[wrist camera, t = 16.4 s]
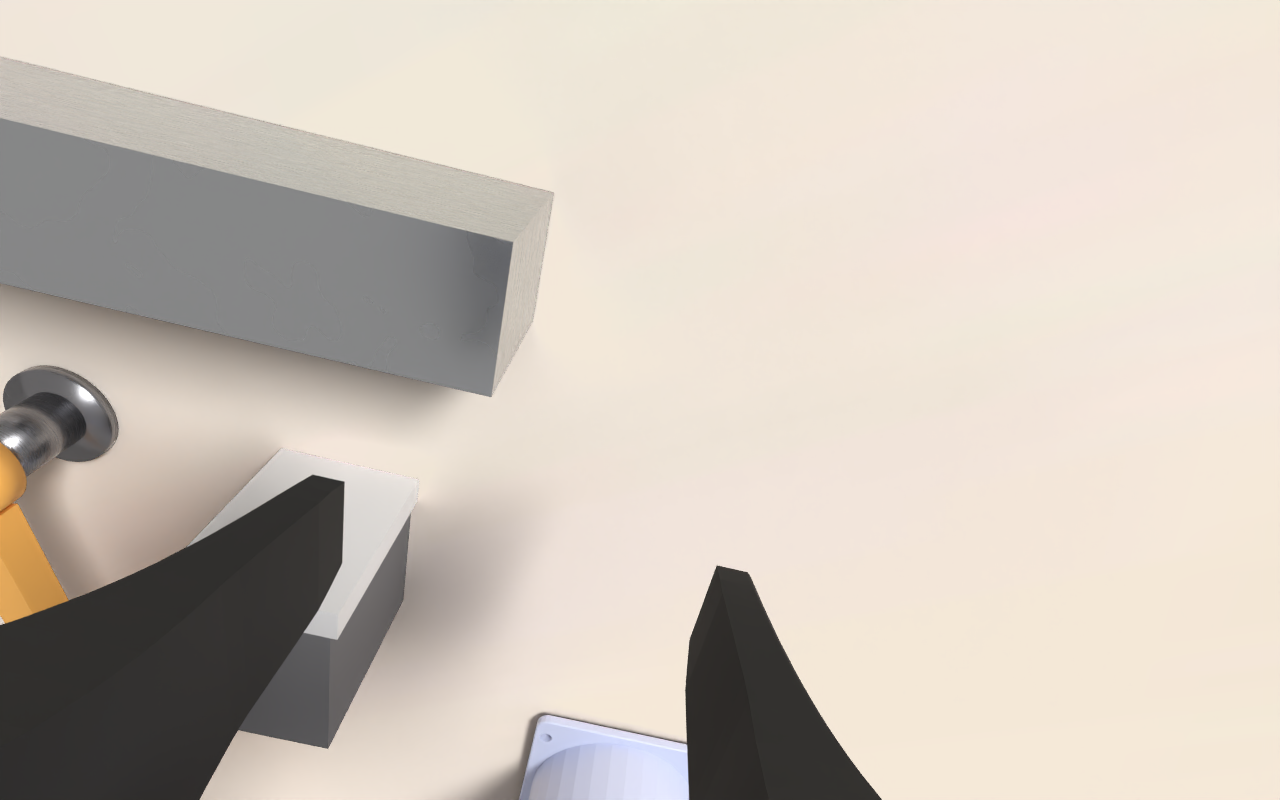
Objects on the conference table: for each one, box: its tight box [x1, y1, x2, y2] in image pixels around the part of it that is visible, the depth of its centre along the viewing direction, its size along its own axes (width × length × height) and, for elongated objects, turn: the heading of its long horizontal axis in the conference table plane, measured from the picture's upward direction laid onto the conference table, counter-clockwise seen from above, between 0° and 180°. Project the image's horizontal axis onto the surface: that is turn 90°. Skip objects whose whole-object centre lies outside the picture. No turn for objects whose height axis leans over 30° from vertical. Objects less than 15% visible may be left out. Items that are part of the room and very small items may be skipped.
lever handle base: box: [0, 366, 118, 477], centre depth 24 cm, size 4×4×3 cm
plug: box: [187, 448, 419, 749], centre depth 24 cm, size 9×5×6 cm, turn 167°
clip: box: [0, 443, 69, 623], centre depth 25 cm, size 3×18×2 cm, turn 1°
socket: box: [0, 57, 554, 397], centre depth 19 cm, size 4×16×5 cm, turn 77°
